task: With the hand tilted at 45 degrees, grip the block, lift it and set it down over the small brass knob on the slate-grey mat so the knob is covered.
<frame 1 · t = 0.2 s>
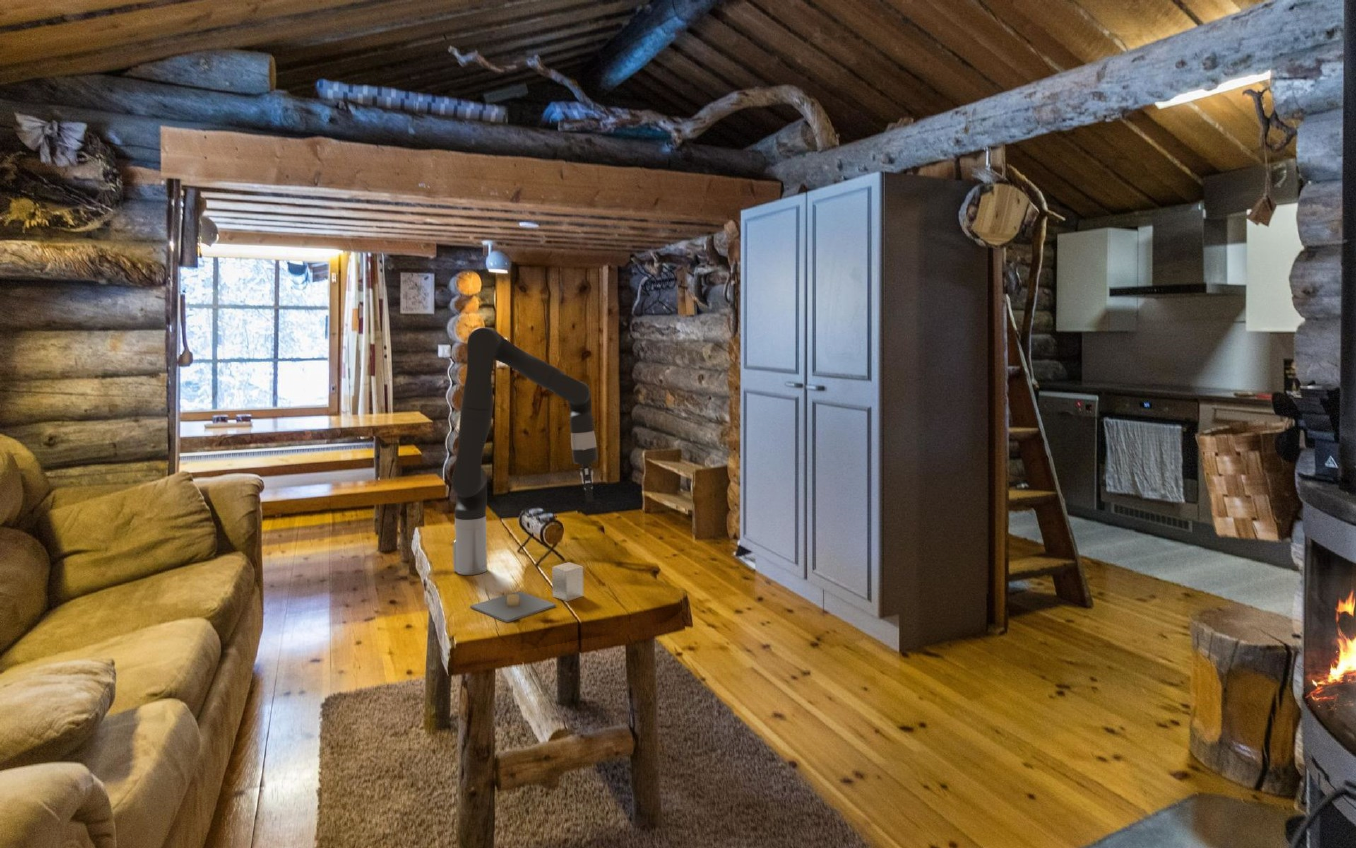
hand: (589, 499, 235), 23 cm above the table, tool pointing down, fingers open, 8 cm apart
block: (568, 596, 215), on the table
mat: (513, 607, 206), on the table
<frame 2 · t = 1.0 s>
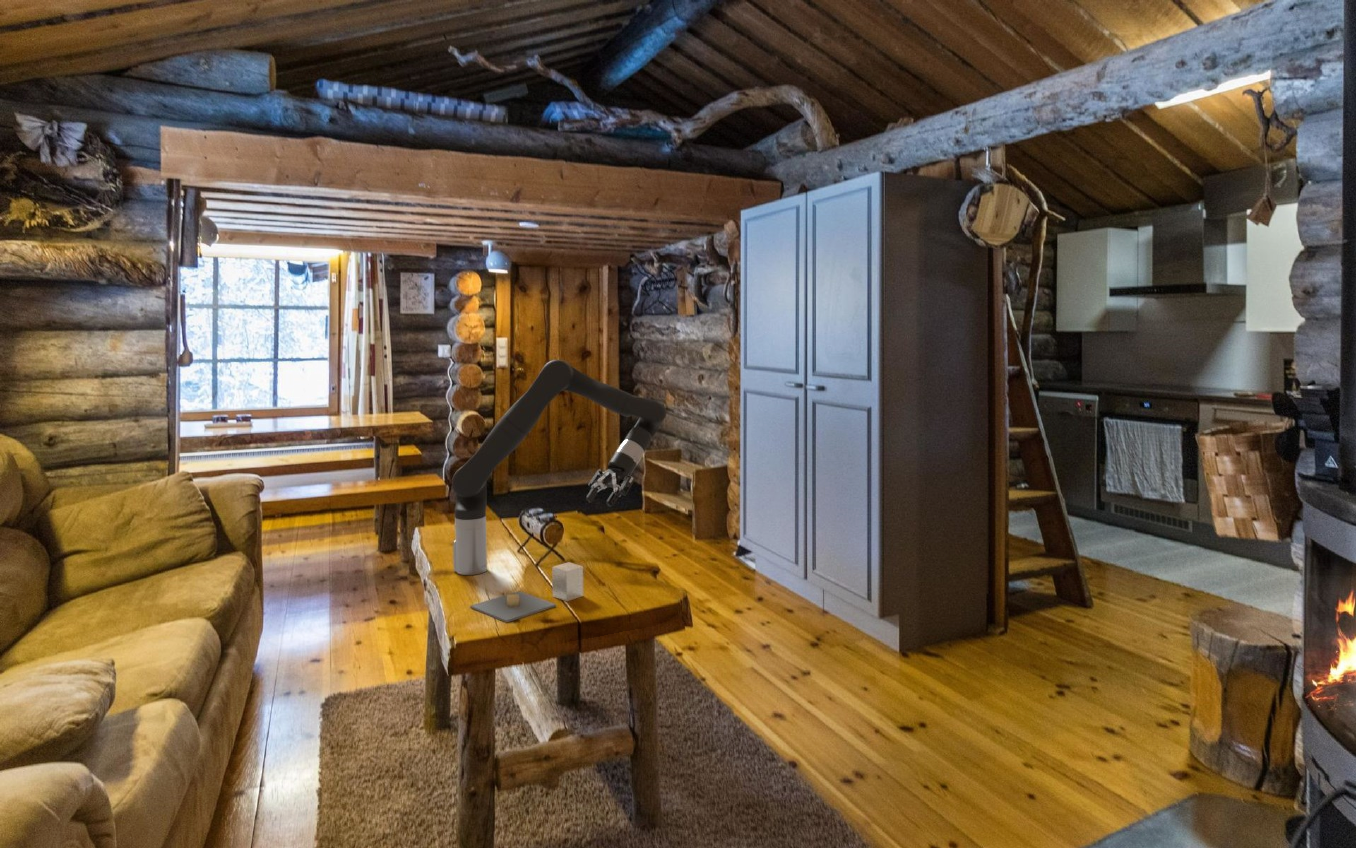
hand: (598, 502, 221), 25 cm above the table, tool tilted 45°, fingers open, 8 cm apart
nothing on the table moved.
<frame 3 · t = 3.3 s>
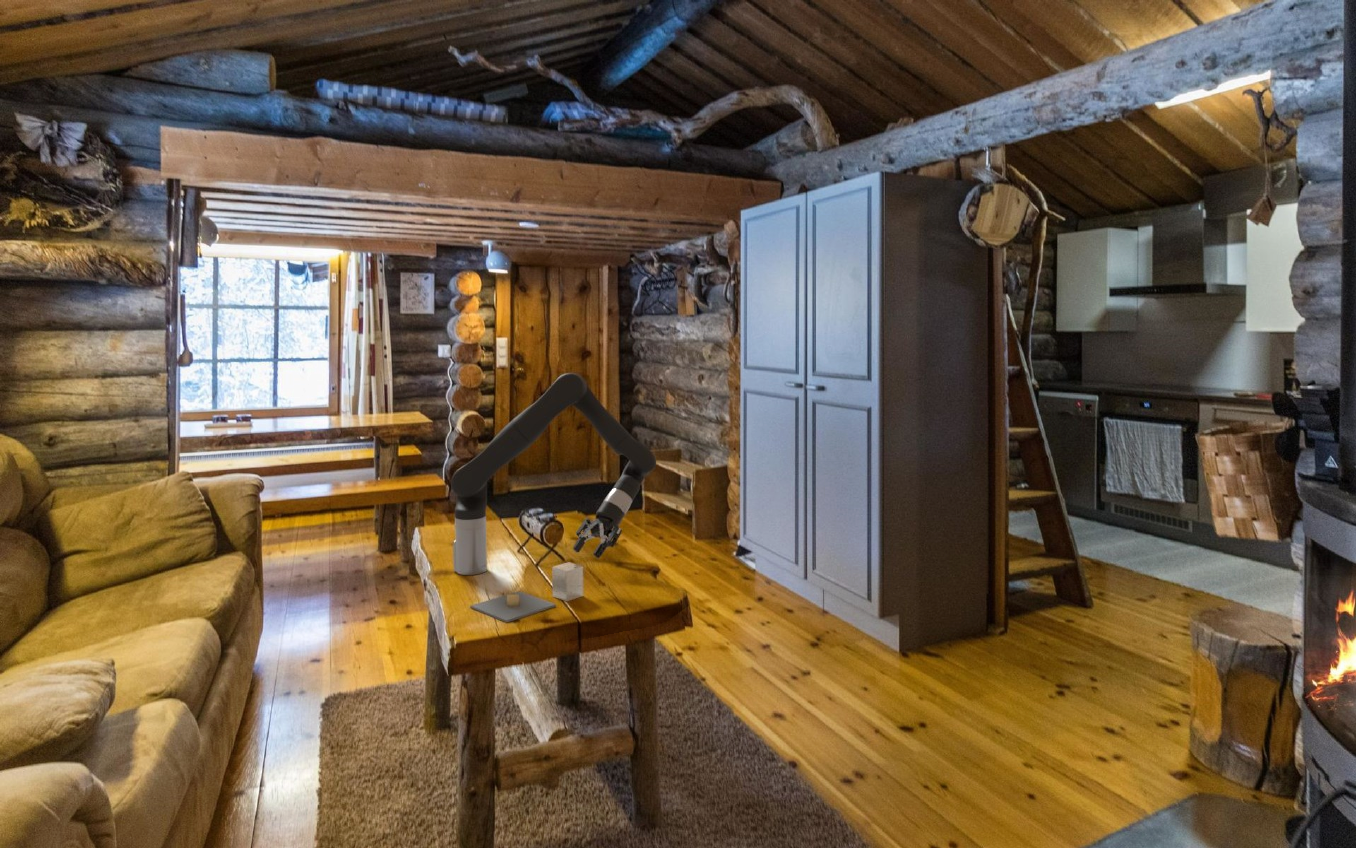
hand: (585, 553, 218), 11 cm above the table, tool tilted 45°, fingers open, 8 cm apart
nothing on the table moved.
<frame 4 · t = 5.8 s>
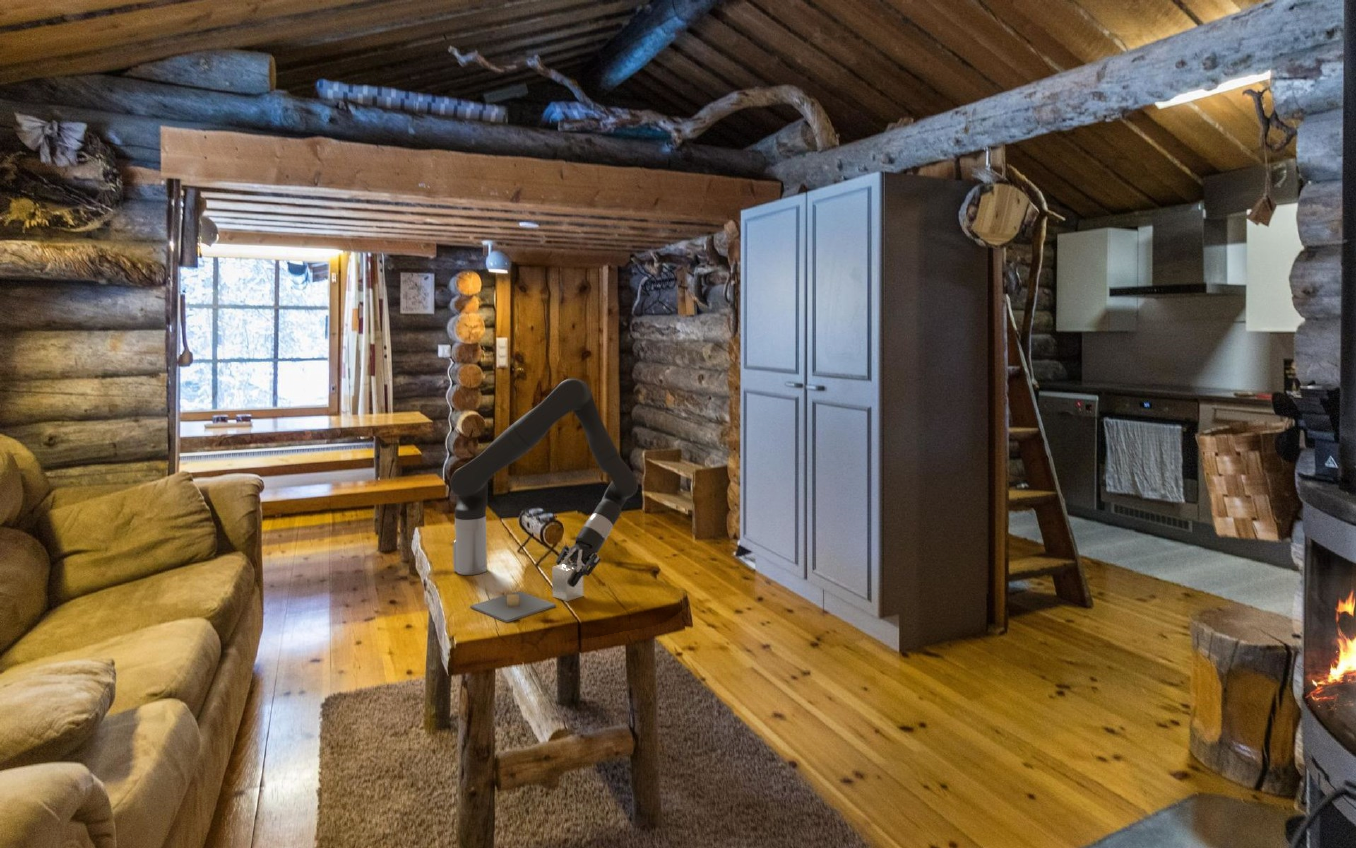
hand: (563, 582, 213), 4 cm above the table, tool tilted 45°, fingers closed on block, 6 cm apart
block: (568, 596, 215), on the table, touching gripper
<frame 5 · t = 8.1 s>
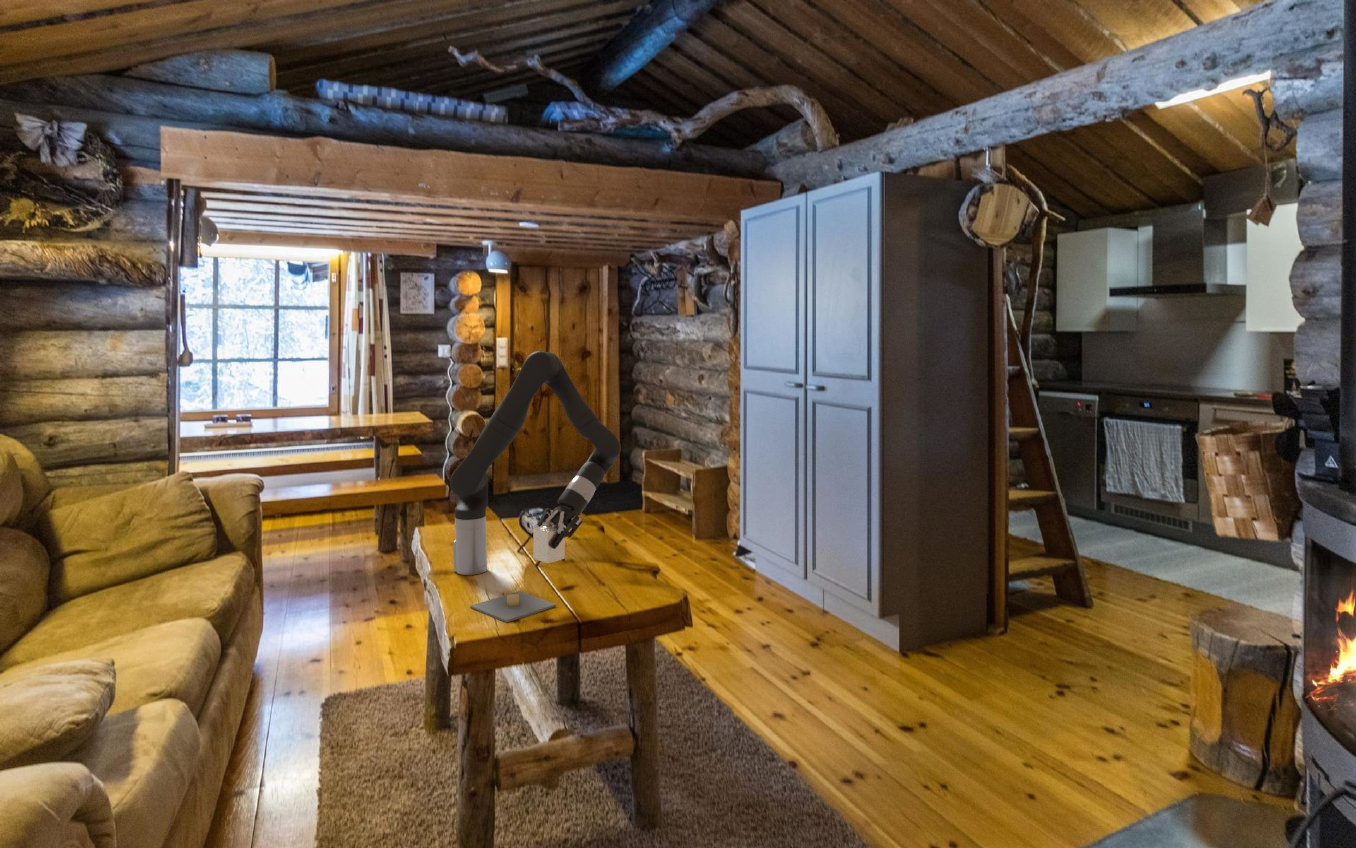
hand: (544, 544, 209), 16 cm above the table, tool tilted 45°, fingers closed on block, 6 cm apart
block: (549, 558, 211), point 12 cm above the table, touching gripper
when the fingers open (6 cm above the table, at t = 10.9 s): block drops 1 cm, resting on mat.
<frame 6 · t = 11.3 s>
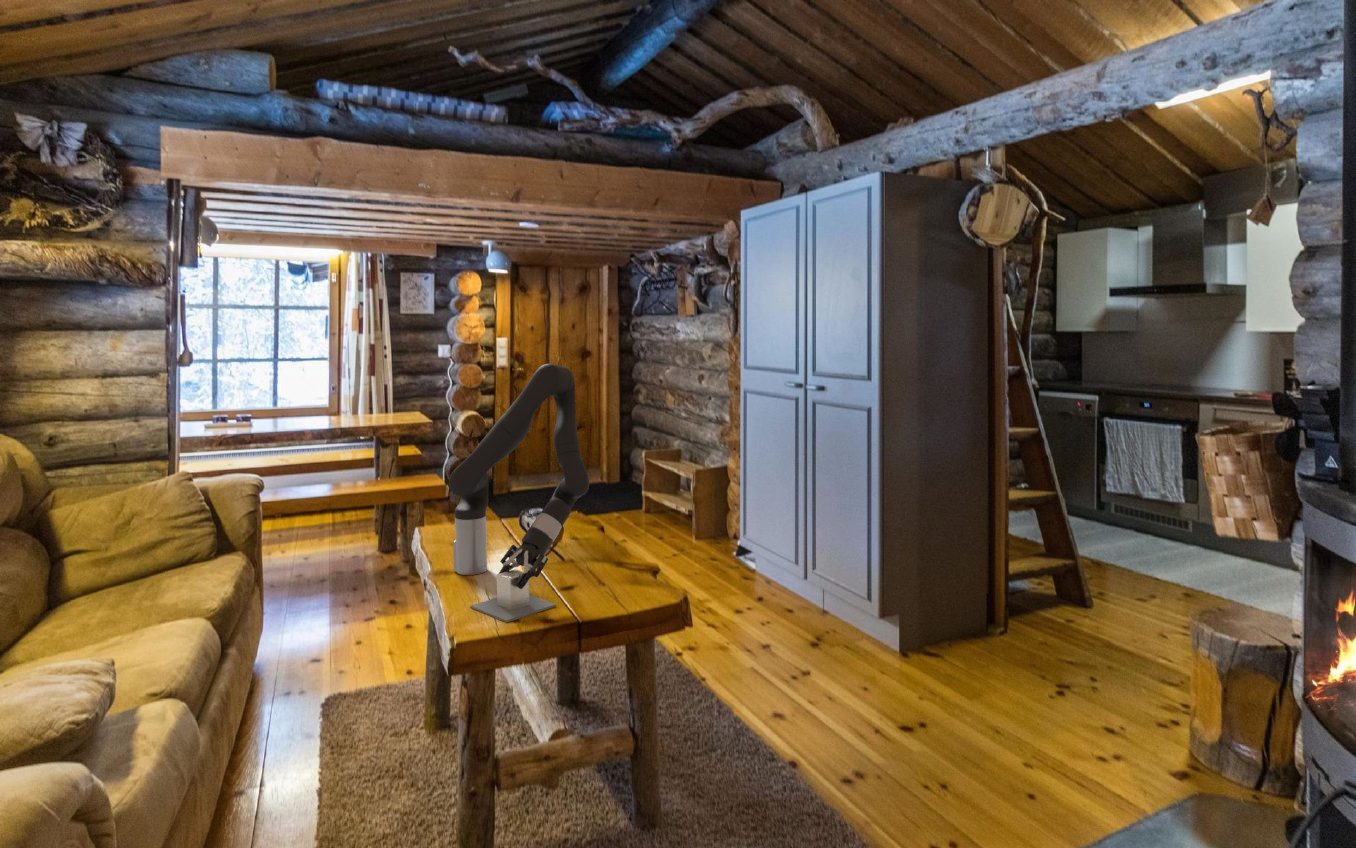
hand: (508, 583, 204), 7 cm above the table, tool tilted 45°, fingers open, 8 cm apart
block: (513, 605, 206), point 1 cm above the table, touching mat
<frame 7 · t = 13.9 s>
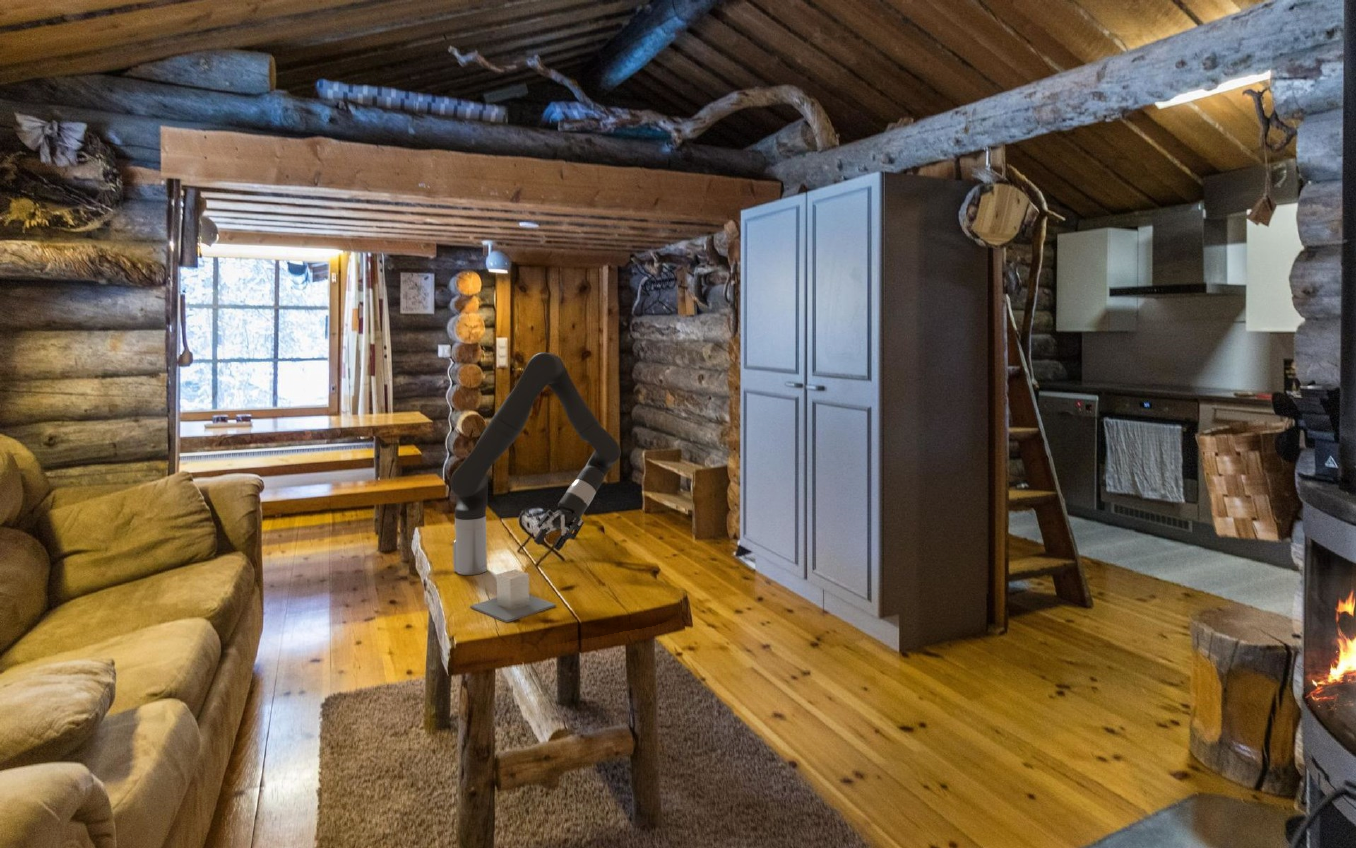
hand: (546, 546, 213), 14 cm above the table, tool tilted 45°, fingers open, 8 cm apart
nothing on the table moved.
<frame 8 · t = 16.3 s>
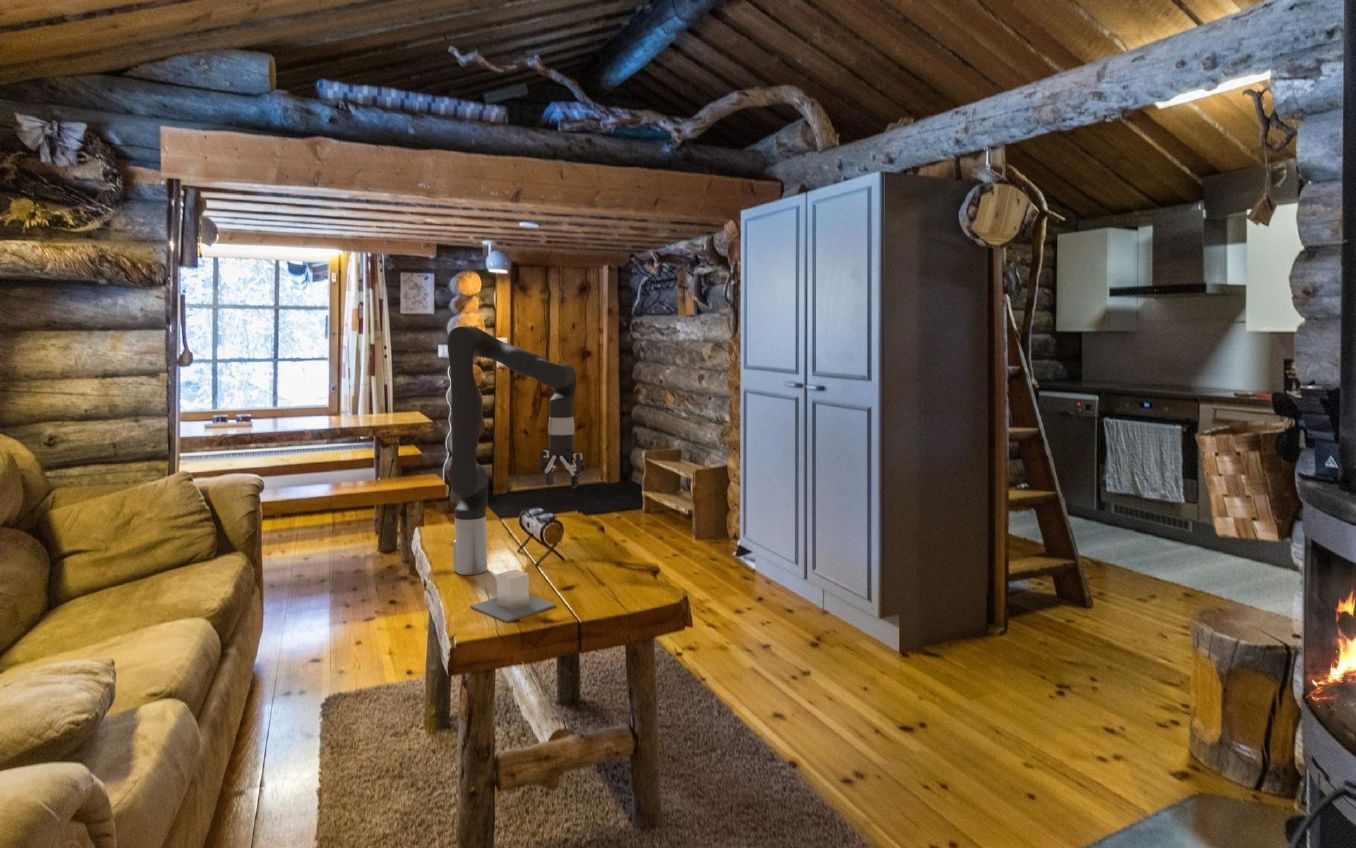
hand: (562, 486, 227), 28 cm above the table, tool pointing down, fingers open, 8 cm apart
nothing on the table moved.
at the end: block 0.0 cm off-centre on the mat, point 0.6 cm above the mat's base; block tilted 0°; the gripper is holding nothing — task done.
